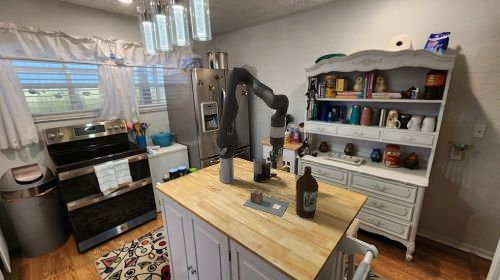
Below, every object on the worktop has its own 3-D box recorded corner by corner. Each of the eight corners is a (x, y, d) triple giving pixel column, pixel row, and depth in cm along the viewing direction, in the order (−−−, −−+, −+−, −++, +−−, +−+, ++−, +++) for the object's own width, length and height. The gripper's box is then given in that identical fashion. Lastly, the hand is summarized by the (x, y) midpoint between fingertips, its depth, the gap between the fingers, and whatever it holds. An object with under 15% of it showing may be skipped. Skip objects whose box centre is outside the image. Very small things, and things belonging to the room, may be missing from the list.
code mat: (242, 205, 113) (242, 205, 113) (254, 193, 125) (254, 193, 125) (281, 216, 103) (281, 216, 103) (289, 202, 115) (289, 202, 115)
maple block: (270, 168, 108) (270, 157, 106) (273, 165, 112) (274, 154, 111) (279, 170, 106) (279, 158, 104) (282, 166, 110) (283, 156, 108)
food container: (291, 191, 127) (292, 176, 125) (294, 187, 132) (294, 172, 130) (312, 196, 121) (313, 180, 119) (314, 191, 127) (315, 176, 124)
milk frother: (250, 180, 143) (250, 160, 139) (261, 172, 155) (261, 154, 152) (268, 185, 135) (269, 164, 131) (279, 177, 148) (279, 157, 144)
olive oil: (291, 209, 109) (293, 164, 103) (309, 206, 111) (312, 162, 105) (300, 221, 99) (303, 172, 93) (320, 218, 101) (324, 170, 95)
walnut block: (250, 202, 116) (250, 192, 114) (254, 198, 120) (254, 188, 118) (258, 204, 113) (258, 194, 112) (262, 200, 117) (262, 190, 116)
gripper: (275, 131, 112) (275, 161, 117) (264, 137, 100) (264, 170, 104) (289, 133, 109) (287, 163, 113) (279, 139, 97) (278, 173, 101)
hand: (276, 166), depth 109 cm, fingers closed on maple block, 5 cm apart
